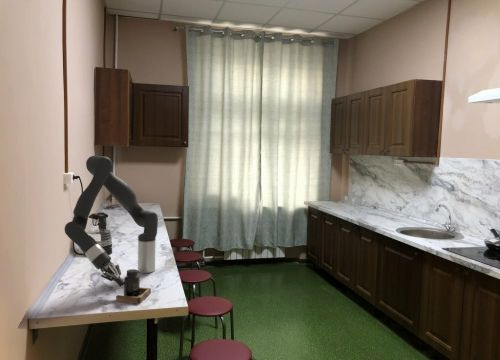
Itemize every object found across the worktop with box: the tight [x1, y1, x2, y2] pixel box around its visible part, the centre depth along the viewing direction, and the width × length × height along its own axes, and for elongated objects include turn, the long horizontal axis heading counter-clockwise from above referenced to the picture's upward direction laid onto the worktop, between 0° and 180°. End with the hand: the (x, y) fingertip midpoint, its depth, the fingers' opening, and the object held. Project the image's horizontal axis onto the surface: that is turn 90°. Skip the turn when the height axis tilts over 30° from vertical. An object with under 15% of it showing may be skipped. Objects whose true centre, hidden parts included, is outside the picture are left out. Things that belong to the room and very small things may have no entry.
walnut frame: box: [115, 286, 152, 305], centre depth 174 cm, size 12×11×2 cm
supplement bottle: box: [123, 268, 141, 297], centre depth 174 cm, size 7×7×12 cm
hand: (122, 285), depth 174 cm, fingers closed
